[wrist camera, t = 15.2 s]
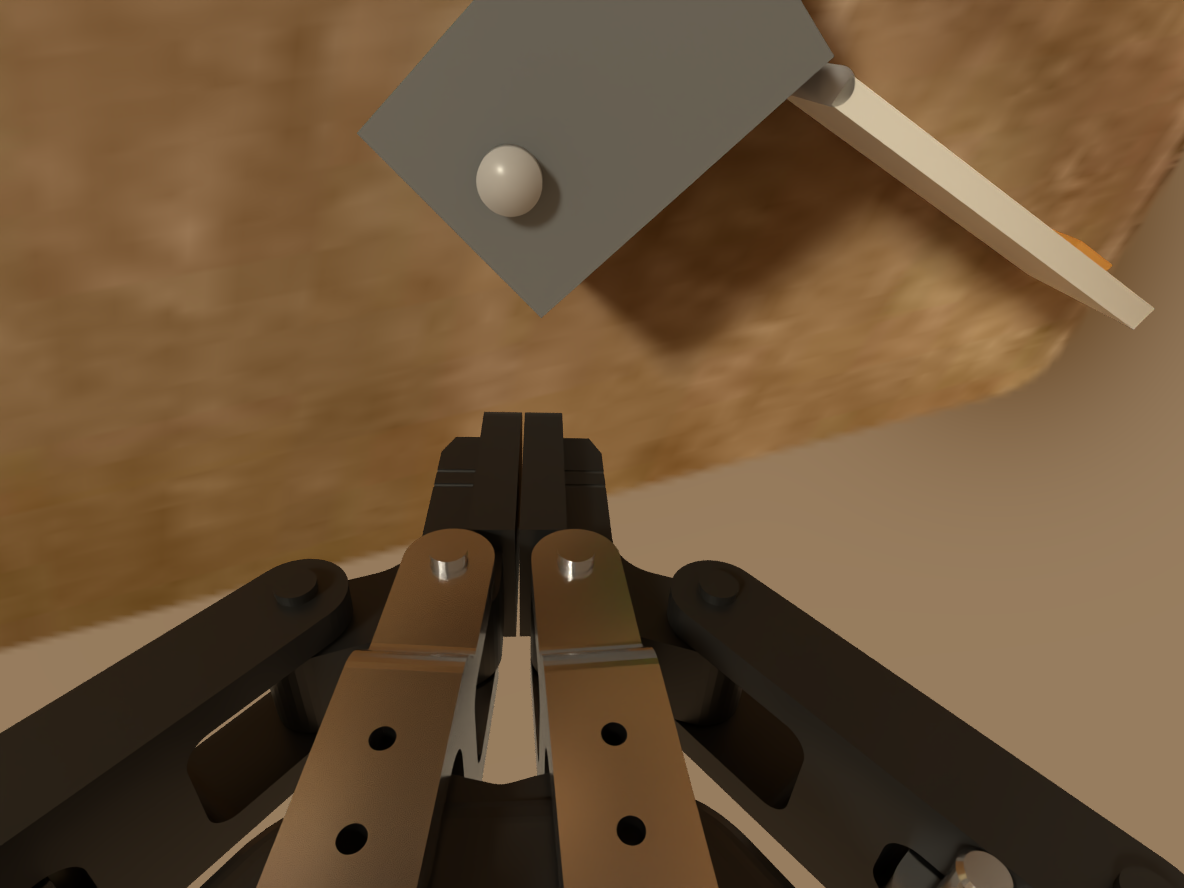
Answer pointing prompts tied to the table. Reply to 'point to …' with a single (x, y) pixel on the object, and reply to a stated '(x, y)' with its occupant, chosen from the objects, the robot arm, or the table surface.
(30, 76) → the table surface
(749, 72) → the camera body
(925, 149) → the side door
